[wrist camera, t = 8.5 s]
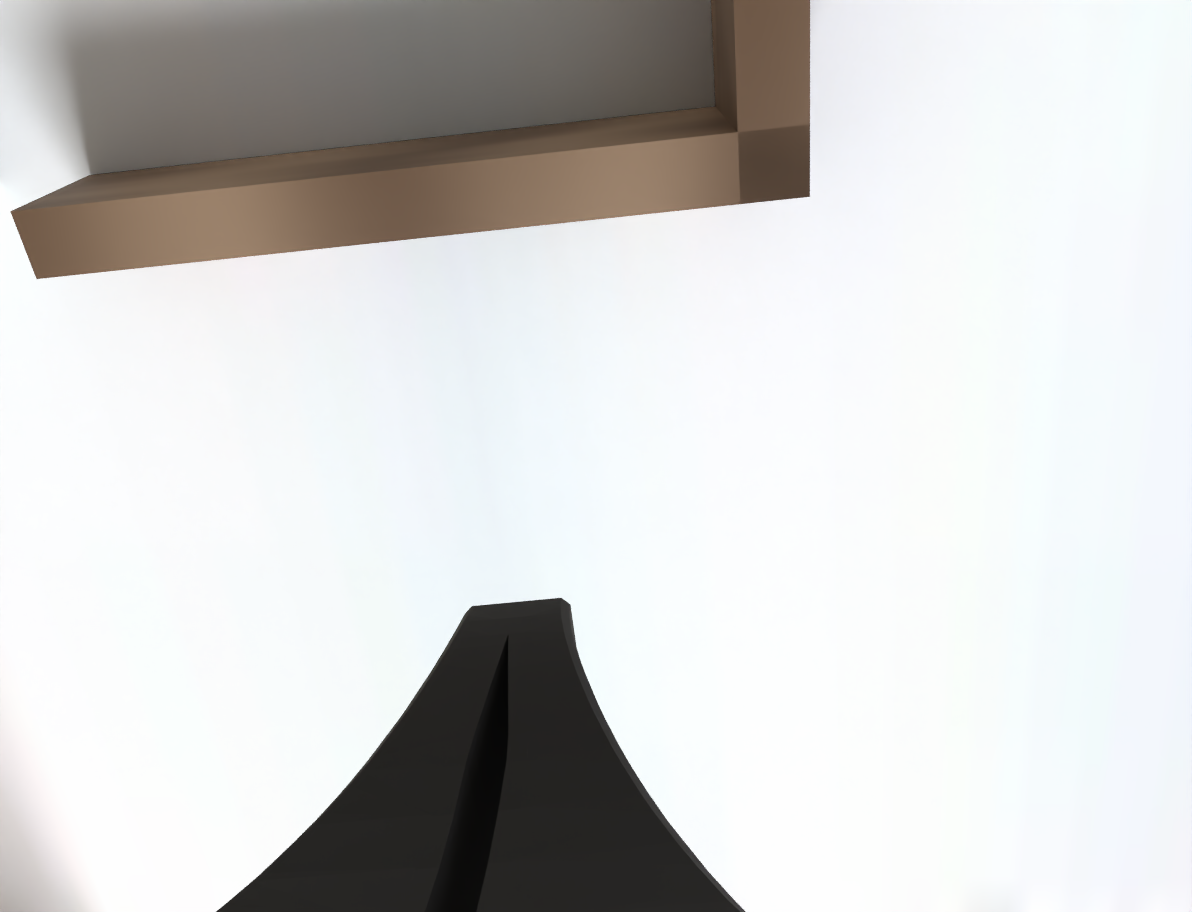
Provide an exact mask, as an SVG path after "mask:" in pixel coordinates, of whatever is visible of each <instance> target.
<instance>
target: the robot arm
mask: <svg viewBox="0 0 1192 912" xmlns="http://www.w3.org/2000/svg"><path fill="white" fill-rule="evenodd" d="M216 912H745V911H744V910H743V909H742V908H741V907H740V906H739V905H738V904H737V903H736V902H735V900H734V899H733V898H732V897H731V896H730V895H729V894H728V893H727V892H726V891H725V889H724V888H723V887H722V886H721V885H720V884H719V883H718V882H717V881H716V880H715V878H714V877H713V876H712V875H711V874H710V873H709V872H708V871H707V870H706V868H705V867H704V866H703V865H702V863H701V862H700V861H699V860H698V858H697V857H696V856H695V855H694V853H693V852H692V851H691V850H690V848H689V847H688V846H687V845H686V843H685V842H684V841H683V840H682V838H681V837H680V836H679V835H678V833H677V832H676V831H675V830H674V828H673V827H672V826H671V825H670V823H669V822H668V821H667V819H666V818H665V817H664V815H663V814H662V812H661V811H660V809H659V808H658V807H657V805H656V804H655V802H654V801H653V799H652V798H651V797H650V795H649V794H648V792H647V791H646V789H645V787H644V786H643V784H642V783H641V781H640V780H639V778H638V777H637V775H636V773H635V772H634V770H633V769H632V767H631V765H630V764H629V762H628V760H627V759H626V757H625V755H624V753H623V752H622V750H621V748H620V746H619V745H618V743H617V741H616V739H615V737H614V735H613V733H612V731H611V729H610V727H609V726H608V724H607V722H606V720H605V718H604V716H603V714H602V711H601V709H600V707H599V705H598V703H597V701H596V698H595V696H594V694H593V691H592V689H591V686H590V684H589V682H588V679H587V677H586V675H585V672H584V669H583V667H582V664H581V661H580V658H579V655H578V651H577V648H576V641H575V634H574V627H573V620H572V613H571V606H570V604H569V603H567V602H566V601H565V600H563V599H562V598H555V599H545V600H534V601H523V602H512V603H502V604H491V605H480V606H472V607H471V608H470V609H469V610H468V611H467V612H466V613H465V615H464V617H463V618H462V620H461V622H460V624H459V626H458V627H457V629H456V631H455V633H454V634H453V636H452V638H451V640H450V641H449V643H448V645H447V646H446V648H445V650H444V651H443V653H442V655H441V656H440V658H439V660H438V661H437V663H436V665H435V666H434V668H433V669H432V671H431V673H430V674H429V676H428V677H427V679H426V680H425V682H424V683H423V685H422V686H421V688H420V689H419V691H418V692H417V694H416V695H415V697H414V698H413V700H412V701H411V703H410V704H409V706H408V707H407V709H406V710H405V712H404V713H403V714H402V716H401V717H400V719H399V720H398V722H397V723H396V724H395V725H394V727H393V728H392V729H391V731H390V732H389V733H388V735H387V736H386V737H385V739H384V740H383V741H382V743H381V744H380V745H379V747H378V748H377V749H376V751H375V752H374V753H373V755H372V756H371V757H370V759H369V760H368V761H367V762H366V764H365V765H364V766H363V767H362V769H361V770H360V771H359V772H358V773H357V775H356V776H355V777H354V778H353V779H352V781H351V782H350V783H349V784H348V785H347V786H346V788H345V789H344V790H343V791H342V792H341V793H340V795H339V796H338V797H337V798H336V799H335V800H334V801H333V802H332V803H331V804H330V806H329V807H328V808H327V809H326V810H325V811H324V812H323V813H322V814H321V815H320V817H319V818H318V819H317V820H316V821H315V822H314V823H313V824H312V825H311V826H310V827H309V828H308V829H307V830H306V831H305V832H304V833H303V834H302V835H301V836H300V837H299V838H298V839H297V840H296V841H295V842H294V843H293V844H292V845H291V846H290V847H289V848H288V849H287V850H285V851H284V852H283V853H282V854H281V855H280V856H279V857H278V858H277V859H276V860H275V861H274V862H273V863H272V864H271V865H270V866H269V867H268V868H267V869H266V870H264V871H263V872H262V873H261V874H260V875H259V876H258V877H257V878H256V879H255V880H253V881H252V882H251V883H250V884H249V885H248V886H246V887H245V888H244V889H243V890H242V891H240V892H239V893H238V894H237V895H236V896H235V897H233V898H232V899H231V900H230V901H229V902H228V903H226V904H225V905H224V906H223V907H221V908H220V909H219V910H218V911H216Z"/></svg>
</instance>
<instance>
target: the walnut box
mask: <svg viewBox="0 0 1192 912" xmlns="http://www.w3.org/2000/svg"><path fill="white" fill-rule="evenodd" d="M711 14H712V38H713V62H714V86H715V106H714V107H705V108H696V109H687V110H678V111H669V112H659V113H650V114H641V115H632V116H623V117H614V118H605V119H596V120H587V121H578V122H569V123H560V124H550V125H541V126H532V127H523V128H514V129H505V130H496V131H487V132H478V133H469V134H460V135H451V136H441V137H432V138H423V139H414V140H405V141H396V142H387V143H378V144H369V145H360V146H351V147H341V148H332V149H323V150H314V151H305V152H296V153H287V154H278V155H269V156H260V157H251V158H242V159H232V160H223V161H214V162H205V163H196V164H187V165H178V166H169V167H160V168H151V169H142V170H133V171H123V172H114V173H105V174H96V175H89V176H87V177H85V178H82V179H80V180H78V181H76V182H74V183H72V184H69V185H67V186H65V187H63V188H61V189H58V190H56V191H54V192H52V193H50V194H48V195H45V196H43V197H41V198H39V199H37V200H35V201H32V202H30V203H28V204H26V205H24V206H22V207H19V208H17V209H15V210H13V211H11V214H12V216H13V219H14V222H15V224H16V227H17V229H18V232H19V235H20V237H21V240H22V242H23V245H24V247H25V250H26V253H27V255H28V258H29V260H30V263H31V266H32V268H33V271H34V273H35V276H36V278H37V279H41V278H50V277H60V276H69V275H78V274H88V273H97V272H106V271H116V270H125V269H135V268H144V267H153V266H163V265H172V264H182V263H191V262H200V261H210V260H219V259H229V258H238V257H247V256H257V255H266V254H276V253H285V252H294V251H304V250H313V249H322V248H332V247H341V246H351V245H360V244H369V243H379V242H388V241H398V240H407V239H416V238H426V237H435V236H445V235H454V234H463V233H473V232H482V231H491V230H501V229H510V228H520V227H529V226H538V225H548V224H557V223H567V222H576V221H585V220H595V219H604V218H614V217H623V216H632V215H642V214H651V213H660V212H670V211H679V210H689V209H698V208H707V207H717V206H726V205H736V204H745V203H754V202H764V201H773V200H783V199H792V198H801V197H810V0H711Z"/></svg>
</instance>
